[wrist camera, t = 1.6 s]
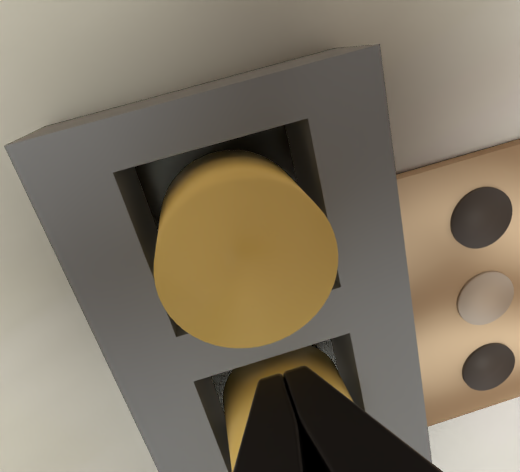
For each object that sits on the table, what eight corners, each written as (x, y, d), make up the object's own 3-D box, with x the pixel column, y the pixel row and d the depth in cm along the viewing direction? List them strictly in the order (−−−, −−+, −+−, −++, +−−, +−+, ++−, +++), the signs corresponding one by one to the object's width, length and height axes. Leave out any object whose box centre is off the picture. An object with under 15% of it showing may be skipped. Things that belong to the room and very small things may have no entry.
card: (549, 376, 25) (560, 386, 24) (414, 420, 24) (421, 432, 24) (554, 128, 19) (569, 131, 19) (380, 179, 19) (388, 184, 18)
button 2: (348, 418, 20) (385, 498, 16) (240, 452, 20) (254, 542, 16) (328, 326, 18) (365, 395, 14) (208, 364, 18) (215, 443, 14)
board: (407, 493, 26) (444, 563, 23) (228, 554, 26) (236, 636, 22) (335, 48, 17) (379, 44, 13) (44, 126, 16) (4, 145, 12)
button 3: (313, 262, 17) (351, 318, 13) (185, 300, 16) (186, 369, 13) (285, 132, 15) (320, 155, 11) (139, 173, 15) (125, 210, 11)
